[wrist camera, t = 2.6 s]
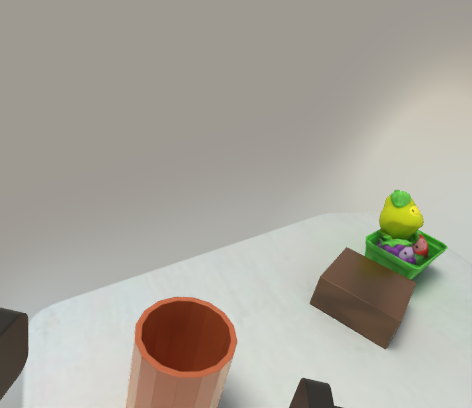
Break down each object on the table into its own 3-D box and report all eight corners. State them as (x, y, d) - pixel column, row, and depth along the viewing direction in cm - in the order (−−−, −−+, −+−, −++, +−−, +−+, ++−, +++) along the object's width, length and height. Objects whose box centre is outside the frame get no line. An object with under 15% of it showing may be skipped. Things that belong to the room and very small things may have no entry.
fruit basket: (401, 301, 46) (442, 226, 41) (343, 262, 52) (373, 191, 47) (433, 274, 54) (471, 208, 49) (379, 242, 59) (409, 180, 54)
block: (309, 303, 42) (320, 276, 41) (336, 271, 49) (346, 246, 48) (385, 349, 38) (401, 321, 37) (402, 307, 46) (416, 282, 44)
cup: (104, 420, 26) (112, 331, 22) (168, 365, 31) (183, 284, 27) (169, 487, 23) (191, 399, 19) (227, 415, 28) (254, 333, 24)
